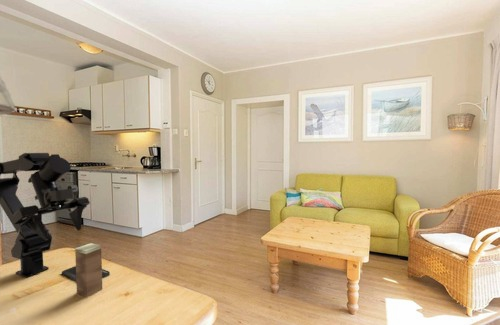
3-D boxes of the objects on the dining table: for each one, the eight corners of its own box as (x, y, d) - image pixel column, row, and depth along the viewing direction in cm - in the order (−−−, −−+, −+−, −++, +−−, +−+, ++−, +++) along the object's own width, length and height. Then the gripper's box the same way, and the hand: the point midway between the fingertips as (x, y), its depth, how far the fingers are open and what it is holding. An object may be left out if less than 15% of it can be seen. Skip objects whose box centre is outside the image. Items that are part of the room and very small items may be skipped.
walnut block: (76, 293, 72) (75, 248, 71) (92, 285, 76) (90, 243, 75) (87, 297, 70) (85, 251, 69) (102, 289, 74) (101, 245, 74)
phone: (85, 262, 90) (111, 272, 83) (85, 265, 90) (111, 275, 83) (60, 271, 83) (85, 283, 76) (60, 275, 83) (85, 287, 76)
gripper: (21, 180, 68) (41, 233, 65) (90, 173, 85) (107, 216, 82) (4, 198, 72) (21, 249, 69) (72, 188, 89) (88, 229, 86)
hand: (64, 234), depth 77 cm, fingers open, 9 cm apart
